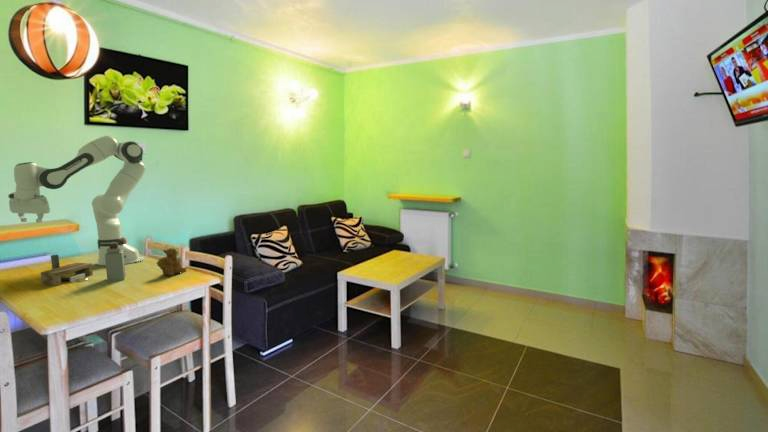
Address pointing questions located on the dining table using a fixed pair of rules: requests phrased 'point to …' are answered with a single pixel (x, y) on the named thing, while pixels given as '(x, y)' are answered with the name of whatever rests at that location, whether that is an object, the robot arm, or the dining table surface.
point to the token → (82, 279)
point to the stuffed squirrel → (170, 263)
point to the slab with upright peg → (56, 264)
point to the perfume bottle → (115, 263)
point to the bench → (54, 274)
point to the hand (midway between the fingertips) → (31, 222)
